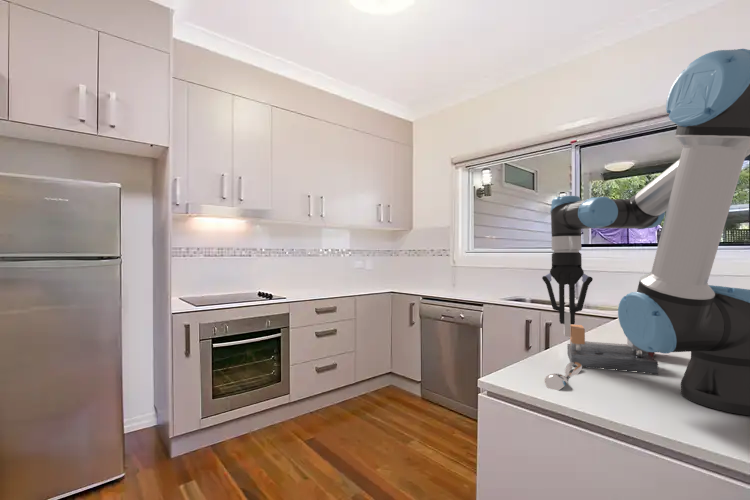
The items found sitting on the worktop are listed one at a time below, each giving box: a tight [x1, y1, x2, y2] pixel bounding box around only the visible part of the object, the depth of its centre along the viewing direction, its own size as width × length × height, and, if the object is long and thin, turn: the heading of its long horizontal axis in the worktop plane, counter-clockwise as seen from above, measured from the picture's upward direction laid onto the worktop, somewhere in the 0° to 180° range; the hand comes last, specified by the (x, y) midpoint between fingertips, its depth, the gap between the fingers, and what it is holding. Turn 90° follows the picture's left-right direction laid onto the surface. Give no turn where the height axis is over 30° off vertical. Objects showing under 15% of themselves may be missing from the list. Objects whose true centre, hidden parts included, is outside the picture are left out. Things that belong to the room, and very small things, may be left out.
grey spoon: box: [544, 362, 583, 391], centre depth 93 cm, size 20×4×5 cm
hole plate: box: [567, 343, 659, 375], centre depth 105 cm, size 13×19×3 cm
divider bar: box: [571, 337, 648, 357], centre depth 105 cm, size 6×18×6 cm, turn 68°
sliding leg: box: [569, 324, 586, 351], centre depth 108 cm, size 7×3×6 cm, turn 158°
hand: (567, 335), depth 108 cm, fingers closed
